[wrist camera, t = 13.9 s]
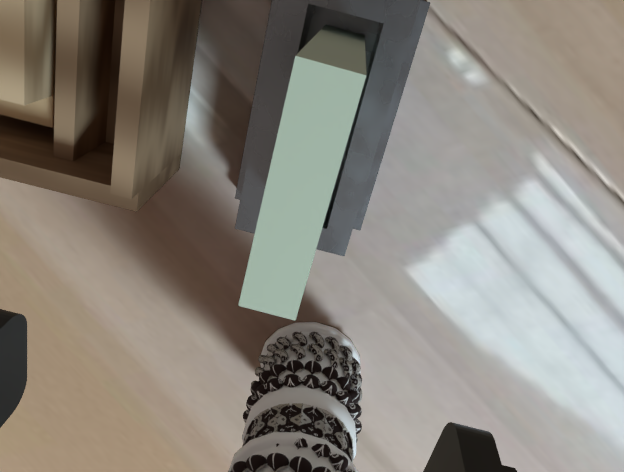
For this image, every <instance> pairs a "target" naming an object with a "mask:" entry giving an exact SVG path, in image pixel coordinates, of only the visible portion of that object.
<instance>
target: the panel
mask: <svg viewBox="0 0 624 472" xmlns="http://www.w3.org/2000/svg"><path fill="white" fill-rule="evenodd" d="M365 79H366V53H365V35H362V34H359V33H355V32H351V31H348V30H344V29H341V28H337V27H334V26H330V25H325V26H324V27H323V28H322V29H321V30H320V31H319V32H318V33H317V34H316V35H315V36H314V37H313V38H312V39H311V40H310V41H309V42H308V43H307V44H306V45H305V46H304V47H303V48H302V49H301V51H300V52H299V53H298V54H297V55H296V56H295V60H294V64H293V69H292V73H291V77H290V82H289V86H288V90H287V95H286V99H285V103H284V108H283V112H282V117H281V121H280V125H279V130H278V134H277V138H276V143H275V147H274V152H273V156H272V160H271V165H270V169H269V173H268V178H267V182H266V187H265V191H264V195H263V200H262V204H261V208H260V213H259V217H258V222H257V226H256V230H255V235H254V239H253V243H252V248H251V252H250V257H249V261H248V265H247V270H246V274H245V278H244V283H243V287H242V291H241V296H240V300H239V305H238V306H241V307H245V308H249V309H252V310H256V311H260V312H264V313H268V314H272V315H275V316H279V317H283V318H287V319H291V320H294V321H295V320H296V317H297V314H298V310H299V307H300V303H301V300H302V296H303V293H304V289H305V286H306V283H307V279H308V276H309V272H310V269H311V265H312V262H313V258H314V255H315V251H316V248H317V245H318V241H319V238H320V234H321V231H322V227H323V224H324V220H325V217H326V213H327V210H328V207H329V203H330V200H331V196H332V193H333V189H334V186H335V182H336V179H337V176H338V172H339V169H340V165H341V162H342V158H343V155H344V151H345V148H346V144H347V141H348V138H349V134H350V131H351V127H352V124H353V120H354V117H355V113H356V110H357V106H358V103H359V100H360V96H361V93H362V89H363V86H364V82H365Z"/></svg>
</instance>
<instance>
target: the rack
mask: <svg viewBox="0 0 624 472" xmlns="http://www.w3.org/2000/svg"><path fill="white" fill-rule="evenodd" d="M201 4H202V0H57V31H56V71H55V112H54V127H48V126H44V125H40V124H36V123H32V122H29V121H25V120H21V119H17V118H13V117H9V116H5V115H1V114H0V177H1V178H5V179H9V180H13V181H17V182H21V183H25V184H29V185H33V186H37V187H41V188H45V189H49V190H53V191H57V192H61V193H65V194H69V195H73V196H76V197H80V198H84V199H88V200H92V201H96V202H100V203H104V204H108V205H112V206H116V207H120V208H124V209H128V210H132V211H136V212H137V211H138V210H139V209H140V208H141V207H142V206H143V205H144V204H145V203H146V202H147V201H148V200H149V199H150V198H151V197H152V196H153V195H154V194H155V193H156V192H157V191H158V190H159V189H160V188H161V187H162V186H163V185H164V184H165V183H166V182H167V181H168V180H169V179H170V178H171V177H172V176H173V175H174V174H175V173H176V172H177V171H178V170H179V168H180V160H181V153H182V146H183V138H184V131H185V123H186V116H187V108H188V101H189V94H190V86H191V79H192V71H193V64H194V56H195V49H196V41H197V34H198V27H199V19H200V12H201Z"/></svg>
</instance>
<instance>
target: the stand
mask: <svg viewBox="0 0 624 472" xmlns="http://www.w3.org/2000/svg"><path fill="white" fill-rule="evenodd" d="M429 5H430V2H426V1H423V0H272V3H271V9H270V14H269V19H268V25H267V30H266V35H265V41H264V46H263V51H262V57H261V62H260V67H259V73H258V78H257V83H256V89H255V94H254V99H253V105H252V110H251V115H250V121H249V126H248V131H247V137H246V142H245V147H244V153H243V158H242V163H241V169H240V174H239V179H238V185H237V190H236V195H235V199H239V200H240V205H239V210H238V215H237V220H236V225H235V229H239V230H243V231H247V232H251V233H255V230H256V226H257V222H258V217H259V213H260V208H261V204H262V200H263V195H264V191H265V187H266V182H267V178H268V173H269V169H270V165H271V160H272V156H273V152H274V147H275V143H276V138H277V134H278V130H279V125H280V121H281V117H282V112H283V108H284V103H285V99H286V95H287V90H288V86H289V82H290V77H291V73H292V69H293V64H294V60H295V56H296V55H297V54H298V53H299V52H300V51H301V49H302V48H303V47H304V46H305V45H306V44H307V43H308V42H309V41H310V40H311V39H312V38H313V37H314V36H315V35H316V34H317V33H318V32H319V31H320V30H321V29H322V28H323V27H324V26H325V25H330V26H334V27H337V28H341V29H344V30H348V31H351V32H355V33H359V34H362V35H365V53H366V79H365V82H364V86H363V89H362V93H361V96H360V100H359V103H358V106H357V110H356V113H355V117H354V120H353V124H352V127H351V131H350V134H349V138H348V141H347V144H346V148H345V151H344V155H343V158H342V162H341V165H340V169H339V172H338V176H337V179H336V182H335V186H334V189H333V193H332V196H331V200H330V203H329V207H328V210H327V213H326V217H325V220H324V224H323V227H322V231H321V234H320V238H319V241H318V245H317V248H316V249H318V250H322V251H326V252H330V253H334V254H337V255H341V256H345V252H346V249H347V246H348V242H349V239H350V236H351V232H352V229H357V230H360V229H361V226H362V223H363V219H364V216H365V213H366V210H367V207H368V203H369V200H370V197H371V194H372V190H373V187H374V184H375V181H376V177H377V174H378V171H379V168H380V164H381V161H382V158H383V155H384V151H385V148H386V145H387V142H388V138H389V135H390V132H391V129H392V125H393V122H394V119H395V116H396V112H397V109H398V106H399V103H400V99H401V96H402V93H403V90H404V87H405V83H406V80H407V77H408V74H409V70H410V67H411V64H412V61H413V57H414V54H415V51H416V48H417V44H418V41H419V38H420V35H421V31H422V28H423V25H424V22H425V18H426V15H427V12H428V9H429Z"/></svg>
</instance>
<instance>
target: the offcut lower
mask: <svg viewBox="0 0 624 472" xmlns="http://www.w3.org/2000/svg"><path fill="white" fill-rule="evenodd" d="M56 31H57V0H55V32H54V75H53V96H50V97H47V98H45V99H42V100H39V101H36V102H33V103H30V104H27V105H25V106H24V105H20V104H16V103H12V102H8V101H4V100H1V99H0V114H1V115H5V116H9V117H13V118H17V119H21V120H25V121H29V122H32V123H36V124H40V125H44V126H48V127H54V112H55V71H56Z"/></svg>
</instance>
